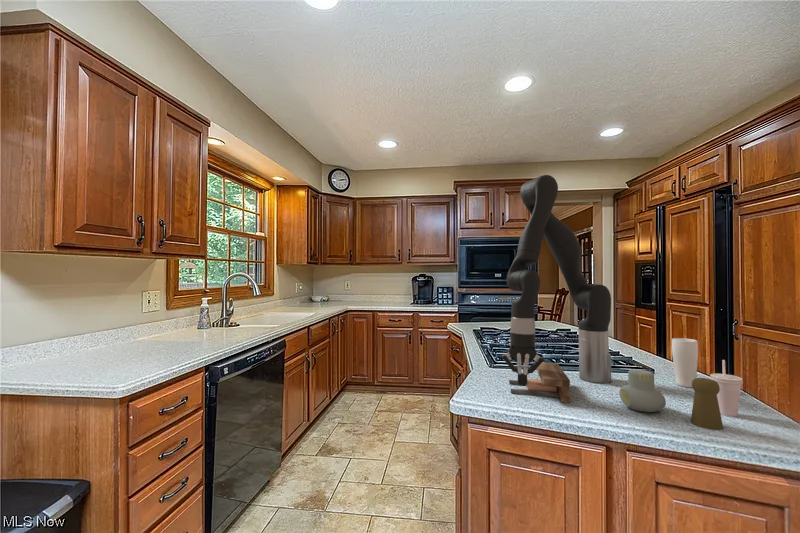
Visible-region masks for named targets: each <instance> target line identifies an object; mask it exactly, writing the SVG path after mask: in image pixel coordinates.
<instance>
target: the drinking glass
mask: <svg viewBox="0 0 800 533" xmlns="http://www.w3.org/2000/svg"><path fill="white" fill-rule="evenodd" d="M698 342H699V341H698V340H696V339H692V338H687V337H686V338H682V337H674V338H671V355H672V362H673V369H674V377H675V379H674V380H675V384H676V385H677V386H680V387H683V388H692V381H693V379H695V378H697V373H698V364H699V363H698V361H699V360H698V359H699V343H698ZM692 389H693V388H692Z"/></svg>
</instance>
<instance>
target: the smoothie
mask: <svg viewBox="0 0 800 533" xmlns="http://www.w3.org/2000/svg"><path fill="white" fill-rule="evenodd" d="M721 361H722V363H721V364H722V367H721V368H722V373H711V374H710V377H709V379H711V380H714V381H716V382H717V383H718V384H719V387H720V391H719V393H718V394H717V398H718V404H719V409H720V414H721V416H726V417H731V418H732V417H737V416H738V412H739V402H740V396H741V390H742V384H743V383H744V381H743V378H742V377H739V376H737V375H733V374H727V373H726V360H725V359H722V360H721Z"/></svg>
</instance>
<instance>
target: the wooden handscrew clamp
mask: <svg viewBox="0 0 800 533" xmlns="http://www.w3.org/2000/svg"><path fill="white" fill-rule="evenodd" d="M535 371H536V372H537V374H538V376H539V378H540V379H541V381H542V383H543V385H545V386H556V387H557V392H553V391H539V390H528V389H525V388H524V389H522V388H510V394H515V395H525V396H528V395H529V396H539V395H541V396H542V397H553V396H555V397H557V398H560V400H561V402H562V403H563V402H564V404H565V403H566V404H571V380H570V378H569V377H568V376H567V374H566V373H565V371H564V370H563V369H562V368H561V366H560V365H559V363H557V362H556V363H555V362H542V363H541V364H540V365H539V367H538V368H537V369H536V370H535ZM508 381H509V385H517V386H520V384H518V379H509V380H508ZM541 396H540V397H541Z"/></svg>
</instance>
